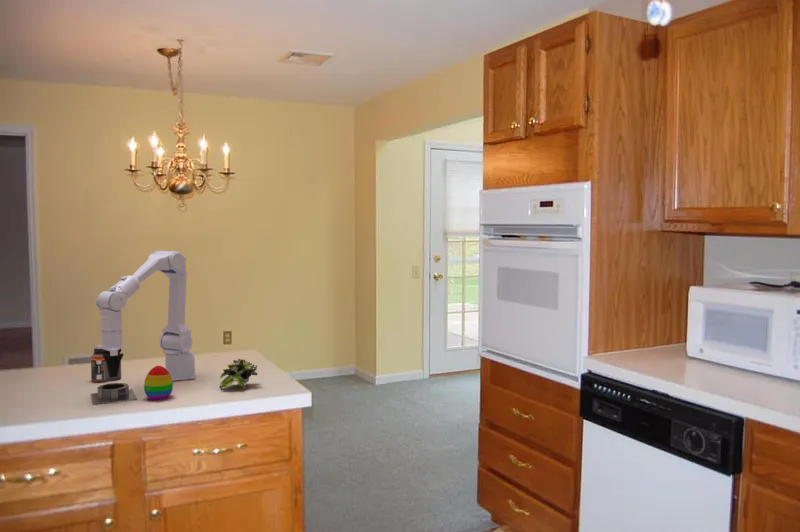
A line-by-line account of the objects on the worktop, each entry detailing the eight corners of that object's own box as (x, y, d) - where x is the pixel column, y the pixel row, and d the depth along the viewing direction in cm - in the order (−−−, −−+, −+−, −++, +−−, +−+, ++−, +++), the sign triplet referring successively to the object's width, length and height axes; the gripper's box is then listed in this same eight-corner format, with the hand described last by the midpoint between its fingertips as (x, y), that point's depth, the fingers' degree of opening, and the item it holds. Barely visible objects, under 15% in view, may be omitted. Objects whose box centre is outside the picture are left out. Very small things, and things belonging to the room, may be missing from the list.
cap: (120, 376, 195) (119, 358, 195) (122, 380, 191) (121, 362, 190) (103, 378, 193) (102, 360, 192) (104, 382, 188) (104, 363, 188)
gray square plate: (132, 389, 200) (132, 379, 200) (136, 399, 190) (136, 388, 190) (90, 394, 195) (90, 384, 194) (92, 404, 184) (92, 393, 184)
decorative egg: (148, 403, 186) (147, 370, 185) (141, 397, 193) (140, 365, 192) (176, 399, 191) (175, 366, 190) (168, 392, 197) (168, 361, 197)
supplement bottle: (103, 383, 208) (102, 349, 207) (87, 382, 209) (86, 348, 208) (114, 378, 214) (114, 346, 213) (99, 377, 215) (98, 345, 214)
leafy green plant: (239, 400, 208) (257, 368, 212) (249, 403, 199) (268, 369, 203) (210, 384, 204) (229, 352, 208) (218, 386, 195) (238, 352, 199)
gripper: (95, 327, 195) (96, 370, 196) (98, 335, 182) (99, 381, 183) (120, 326, 198) (121, 368, 199) (124, 333, 186) (125, 378, 187)
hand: (112, 374), depth 192 cm, fingers closed on cap, 5 cm apart
